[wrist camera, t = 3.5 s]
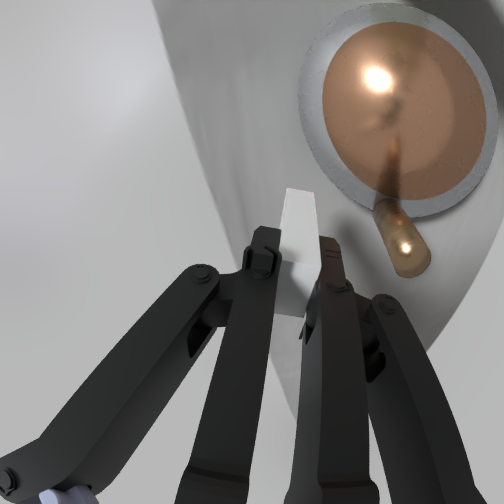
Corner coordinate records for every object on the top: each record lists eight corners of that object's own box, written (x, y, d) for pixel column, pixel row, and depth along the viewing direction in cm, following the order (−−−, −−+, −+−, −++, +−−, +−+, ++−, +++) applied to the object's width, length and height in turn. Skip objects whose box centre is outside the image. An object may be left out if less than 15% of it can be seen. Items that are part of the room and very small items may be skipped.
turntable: (311, -17, 11) (317, -64, 5) (499, 62, 10) (560, 73, 4) (280, 197, 21) (272, 254, 15) (451, 236, 20) (487, 292, 14)
